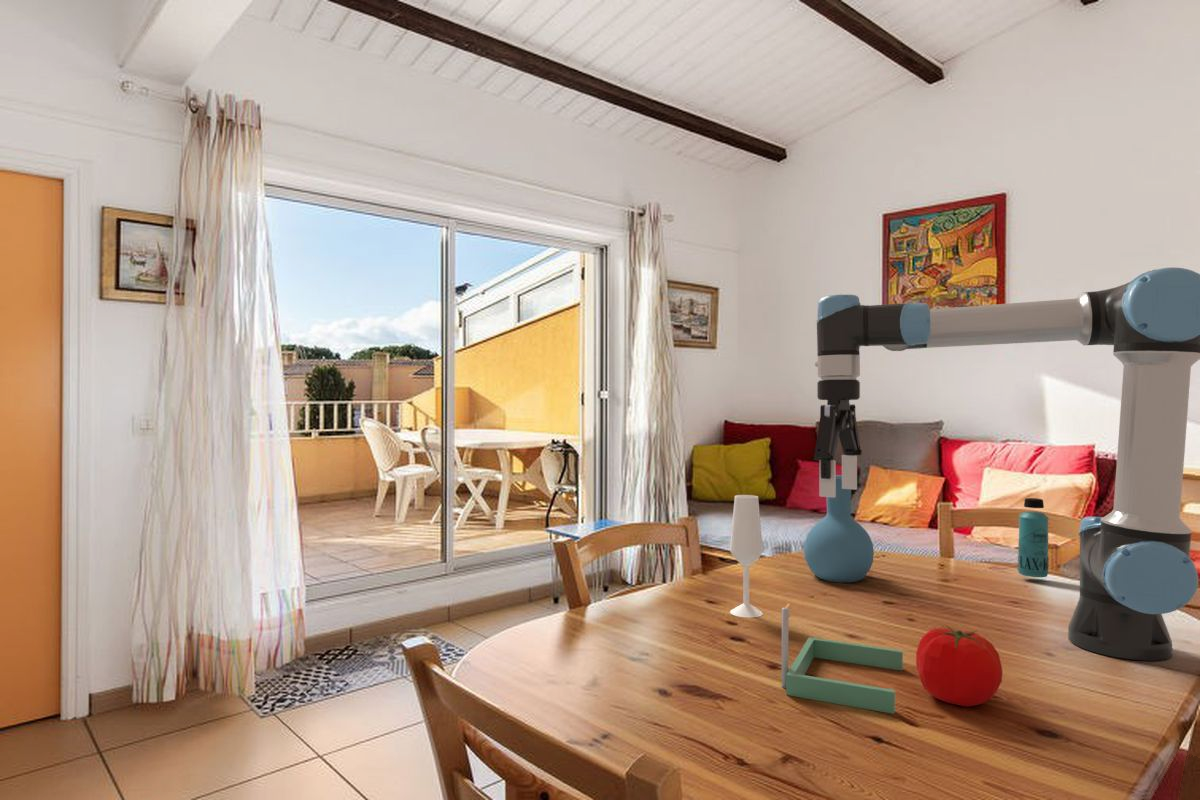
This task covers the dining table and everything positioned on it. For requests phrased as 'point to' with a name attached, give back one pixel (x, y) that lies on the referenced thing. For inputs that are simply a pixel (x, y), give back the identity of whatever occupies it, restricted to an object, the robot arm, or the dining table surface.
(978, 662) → the tomato
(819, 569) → the vase
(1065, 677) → the dining table surface
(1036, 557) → the beverage bottle
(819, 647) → the green u-shaped frame
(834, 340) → the robot arm
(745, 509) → the champagne flute
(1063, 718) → the dining table surface
